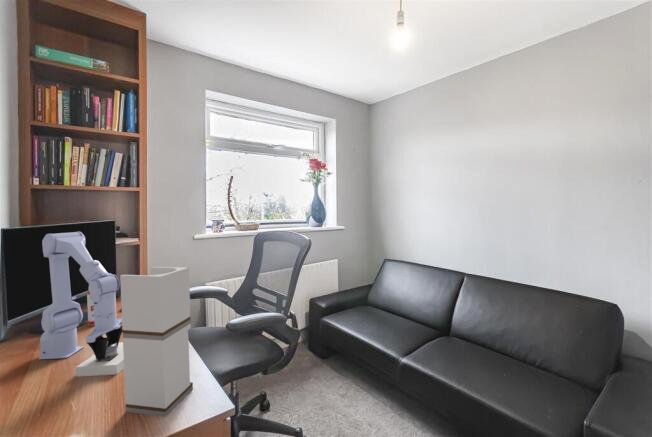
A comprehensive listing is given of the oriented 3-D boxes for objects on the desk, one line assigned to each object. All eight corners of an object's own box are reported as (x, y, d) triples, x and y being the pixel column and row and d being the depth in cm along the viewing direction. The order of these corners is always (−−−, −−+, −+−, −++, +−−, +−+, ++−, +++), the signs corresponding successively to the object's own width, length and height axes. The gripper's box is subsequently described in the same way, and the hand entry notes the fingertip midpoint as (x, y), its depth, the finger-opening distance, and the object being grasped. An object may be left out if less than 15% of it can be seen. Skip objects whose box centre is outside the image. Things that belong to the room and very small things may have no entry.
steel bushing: (91, 368, 90) (90, 350, 90) (103, 359, 96) (102, 342, 96) (110, 367, 91) (109, 349, 91) (121, 358, 96) (120, 341, 96)
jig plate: (76, 376, 88) (75, 367, 88) (111, 350, 104) (110, 342, 104) (117, 374, 89) (116, 364, 89) (145, 349, 105) (145, 341, 105)
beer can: (108, 322, 131) (106, 288, 130) (91, 327, 125) (89, 291, 125) (102, 319, 134) (101, 286, 134) (85, 324, 129) (84, 289, 128)
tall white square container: (192, 389, 81) (188, 267, 79) (165, 416, 70) (160, 276, 69) (157, 385, 83) (153, 266, 81) (125, 411, 72) (120, 275, 71)
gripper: (102, 321, 86) (104, 365, 86) (131, 305, 100) (133, 343, 101) (77, 322, 85) (80, 366, 86) (110, 306, 100) (112, 344, 100)
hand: (107, 354), depth 93 cm, fingers closed on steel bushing, 5 cm apart
